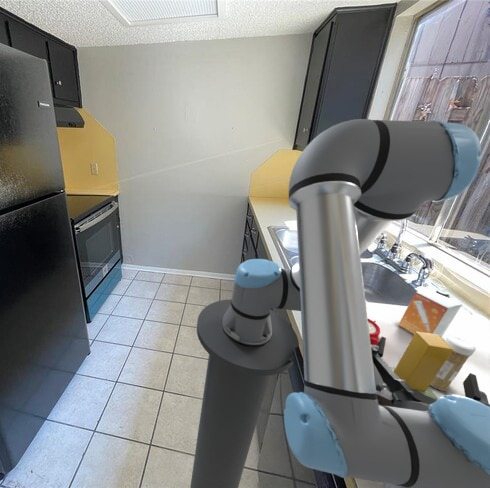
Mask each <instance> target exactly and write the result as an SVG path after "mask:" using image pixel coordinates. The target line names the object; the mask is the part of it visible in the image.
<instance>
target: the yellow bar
mask: <svg viewBox="0 0 490 488" xmlns="http://www.w3.org/2000/svg"><path fill="white" fill-rule="evenodd" d="M452 351H453V349H452V348H451V347H450V346H449V345H448V344H447V343H446V342H445V339H443V338H442V337H440V336H439V335H436V334H430V333H423V332H417V331H416V332H415V334H413V336H412V337H411V340H410V341H409V343H408V344H407V347H406V348H405V350H404V351H403V353H402V356H401V358H400V359H399V361H398V363H397V365H396V366H395V367H394V368H395V370H394V373H395V374H396V375H397V376H398V377H399V378H400V379H401V380H404V381H405V382H406V383H407V384H408V385H409V386H410V387H411V388H412V389H415V390H420V391H425V392H426V390H427V389H428V387H429V388H430V387H431V385H430V384H431V383H432V381H433V380H434V378H435V377H436V375H437V373H438V372H439V370H440V369H441V367H442V366H443V364H444V363H445V361H446V360H447V358H448V357H449V355H450V354H451V352H452Z"/></svg>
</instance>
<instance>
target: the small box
mask: <svg viewBox="0 0 490 488" xmlns="http://www.w3.org/2000/svg"><path fill="white" fill-rule="evenodd" d="M462 306H463V304H462V303H459V302H457V301H455V300H453V299H451V298H449V297H448V296H445V295H443V294H440V293H438V292H436V291H434V290H431V289H430V288H428V289H423V290H419V291H415V293H414V295H413V296H412V298H411V299H410V302H409V304H408V306H407V307H406V310H405V311H404V313H403V315H402V317H401V319H400V321H399V323H398V326H399V327H400V328H403V329H404V330H406V331H407V332H408V333H411V334H412V335H414V334H415V332H416V331H417V332H423V333H430V334H436V335H439V336H440V337H441V338H442V337H443V336H444V334H445V333H446V331H447V330H448V328H449V326H450V324H451V323H452V322H453V320H454V319H455V317H456V315H457V313H458V312H459V310H460V309H461V307H462Z"/></svg>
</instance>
